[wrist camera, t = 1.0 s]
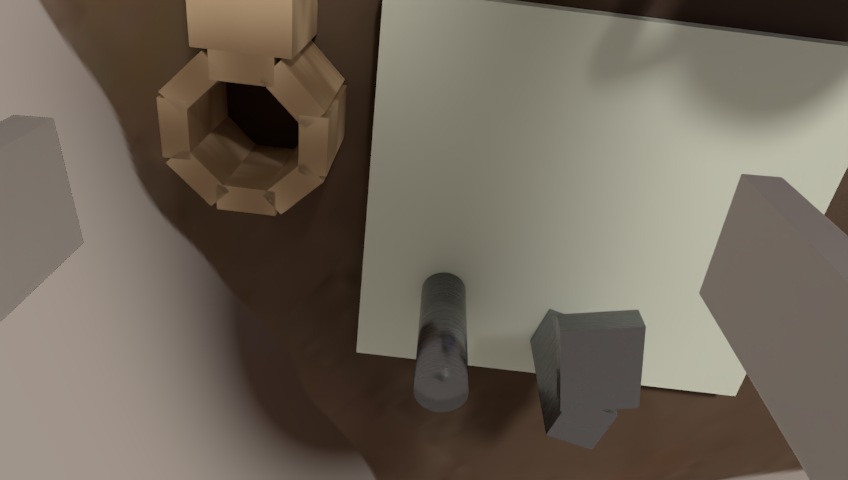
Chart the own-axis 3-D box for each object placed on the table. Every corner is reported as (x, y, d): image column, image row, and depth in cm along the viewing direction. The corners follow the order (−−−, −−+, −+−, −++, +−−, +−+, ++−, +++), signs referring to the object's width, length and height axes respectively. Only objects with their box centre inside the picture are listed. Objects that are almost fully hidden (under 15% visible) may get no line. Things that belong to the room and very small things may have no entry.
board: (386, -17, 27) (383, -13, 26) (885, 47, 28) (903, 53, 26) (359, 339, 37) (356, 352, 36) (727, 382, 37) (735, 396, 36)
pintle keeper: (431, 211, 33) (424, 312, 25) (622, 233, 33) (675, 341, 25) (416, 322, 36) (406, 441, 28) (588, 343, 36) (625, 466, 29)
